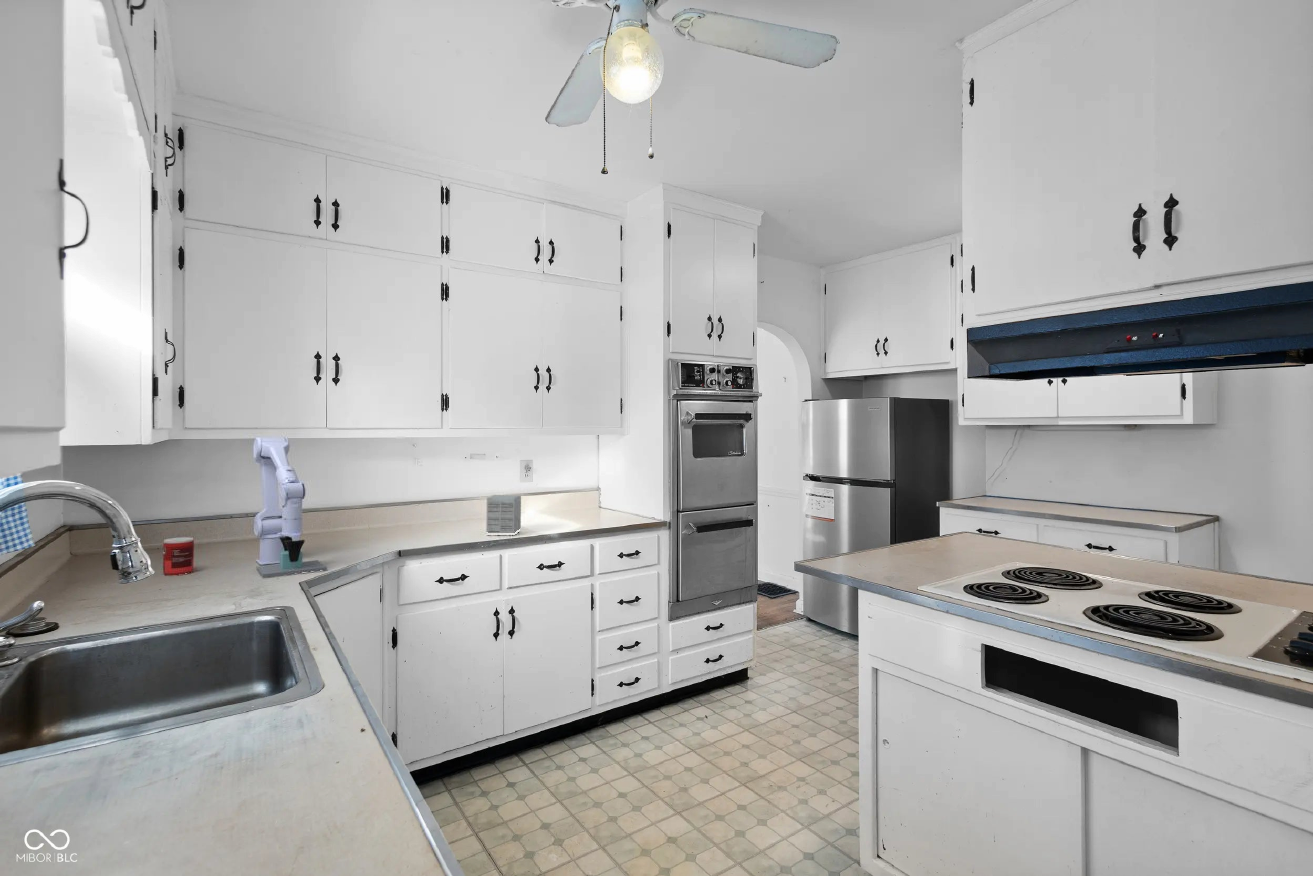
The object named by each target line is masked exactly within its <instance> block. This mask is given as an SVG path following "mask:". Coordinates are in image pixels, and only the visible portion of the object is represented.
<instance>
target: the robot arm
mask: <svg viewBox="0 0 1313 876" xmlns="http://www.w3.org/2000/svg"><path fill="white" fill-rule="evenodd" d="M252 447H253V458H254V462H255V463H258V464H259V468H260V478H261V493H262V495H261V496H262V508H263V509H262V510H261V511H259V512H258V513H257V514H256V515H255V517H254V523H253V533H254V535H255V536H256V537H257V538H259V559H255V561H256V562H257V564H258V565H260V566H266V565H275V564H280V552H281V551H288V553H289V559H290V562H296V561H298V559H299V555H300V551H301V552H302V550H301V549H302V548H303V545H304V544H305V542H306V540H305V539H301V537H300V536H302V535H303V500H304V499H305V497H306V490H307V489H306V485H305V483H304V482H303V481H302V480H301V479H299V477H298V475H297V473H296V470H295V468H294V467H292V466H290V464H289V460H288V454H289V451H290V440H289V439H288V438H287V437H260V436H257V437H256V438H255V439H254V442H253V446H252ZM278 486H279V487H278ZM279 499H280V500H279ZM280 506H281V508H280Z"/></svg>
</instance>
